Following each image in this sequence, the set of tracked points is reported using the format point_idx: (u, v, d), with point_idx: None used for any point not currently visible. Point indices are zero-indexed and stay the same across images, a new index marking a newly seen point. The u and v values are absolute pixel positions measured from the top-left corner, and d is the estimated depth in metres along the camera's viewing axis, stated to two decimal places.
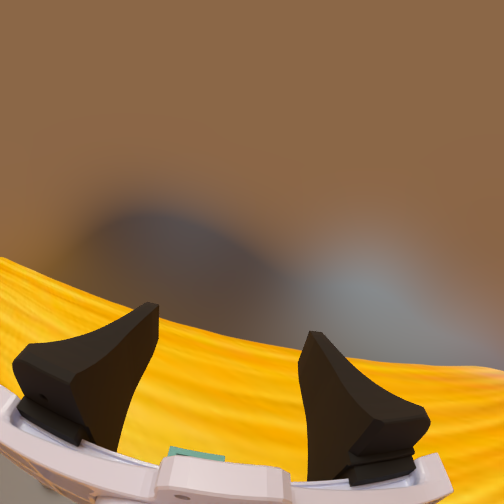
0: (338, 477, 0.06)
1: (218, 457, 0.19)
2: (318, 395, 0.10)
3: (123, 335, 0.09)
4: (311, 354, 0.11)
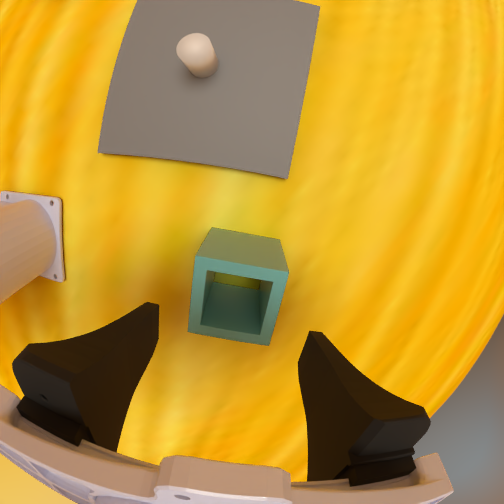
0: (338, 477, 0.06)
1: (266, 338, 0.16)
2: (318, 395, 0.10)
3: (123, 335, 0.09)
4: (311, 354, 0.11)
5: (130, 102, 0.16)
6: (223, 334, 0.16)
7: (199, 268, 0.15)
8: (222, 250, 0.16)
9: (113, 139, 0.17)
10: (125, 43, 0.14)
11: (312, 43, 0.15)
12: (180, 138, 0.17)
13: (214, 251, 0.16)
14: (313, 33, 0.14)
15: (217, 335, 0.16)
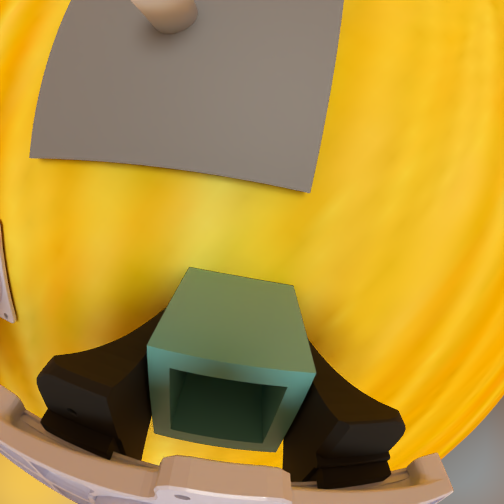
0: (308, 479, 0.06)
1: (271, 445, 0.09)
2: None
3: None
4: None
5: (68, 81, 0.09)
6: (207, 441, 0.09)
7: (157, 364, 0.08)
8: (198, 326, 0.09)
9: (46, 137, 0.10)
10: (72, 5, 0.07)
11: None
12: (135, 128, 0.10)
13: (183, 330, 0.08)
14: None
15: (198, 441, 0.09)
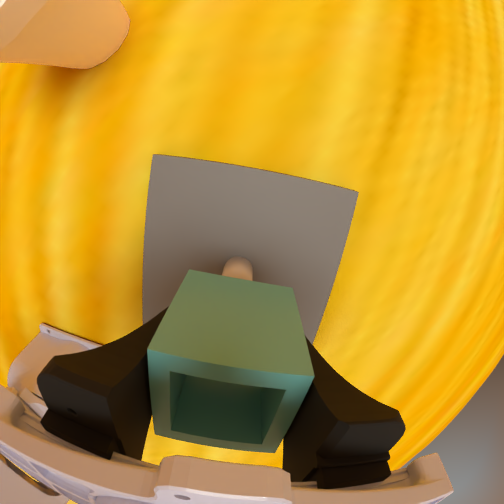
0: (308, 479, 0.06)
1: (270, 446, 0.09)
2: None
3: None
4: None
5: (168, 295, 0.20)
6: (207, 442, 0.09)
7: (157, 367, 0.08)
8: (198, 329, 0.09)
9: None
10: (149, 228, 0.18)
11: (344, 244, 0.19)
12: None
13: (183, 333, 0.08)
14: (346, 231, 0.18)
15: (198, 442, 0.09)
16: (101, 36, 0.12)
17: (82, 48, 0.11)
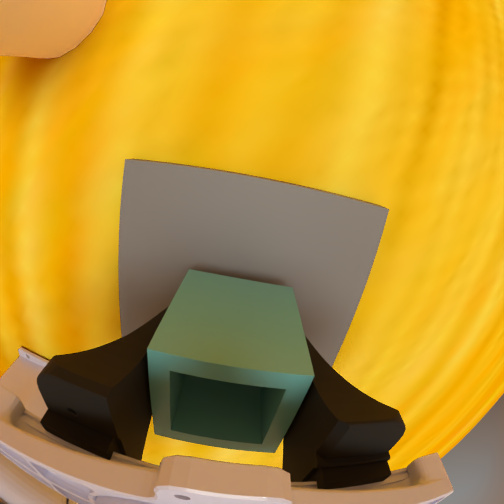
0: (308, 479, 0.06)
1: (270, 446, 0.09)
2: None
3: None
4: None
5: None
6: (207, 442, 0.09)
7: (157, 367, 0.08)
8: (197, 329, 0.09)
9: None
10: (124, 253, 0.14)
11: (367, 273, 0.15)
12: None
13: (183, 333, 0.08)
14: (372, 258, 0.14)
15: (198, 441, 0.09)
16: (66, 16, 0.07)
17: (43, 31, 0.07)
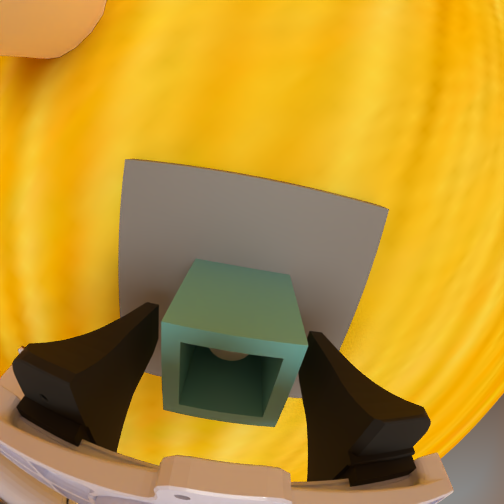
0: (338, 477, 0.06)
1: (271, 419, 0.10)
2: (318, 395, 0.10)
3: (123, 335, 0.09)
4: (311, 354, 0.11)
5: None
6: (212, 416, 0.10)
7: (170, 339, 0.09)
8: (205, 306, 0.10)
9: None
10: (124, 253, 0.14)
11: (367, 273, 0.15)
12: None
13: (192, 309, 0.10)
14: (372, 258, 0.14)
15: (203, 416, 0.10)
16: (66, 16, 0.07)
17: (43, 31, 0.07)
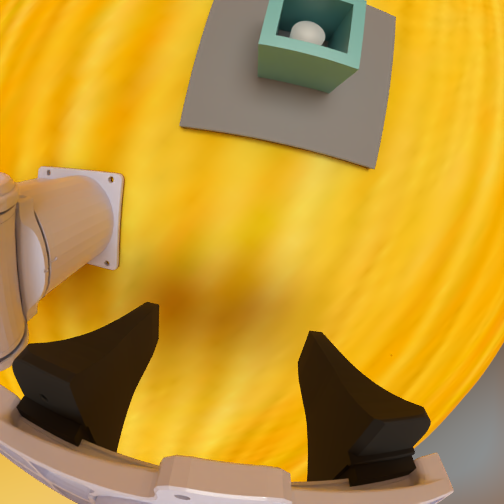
0: (338, 477, 0.06)
1: (354, 58, 0.10)
2: (318, 395, 0.10)
3: (123, 335, 0.09)
4: (311, 354, 0.11)
5: (221, 77, 0.16)
6: (304, 48, 0.10)
7: None
8: None
9: (200, 113, 0.17)
10: (212, 18, 0.14)
11: (392, 49, 0.15)
12: (277, 120, 0.17)
13: None
14: (392, 40, 0.14)
15: (296, 48, 0.10)
16: None
17: None
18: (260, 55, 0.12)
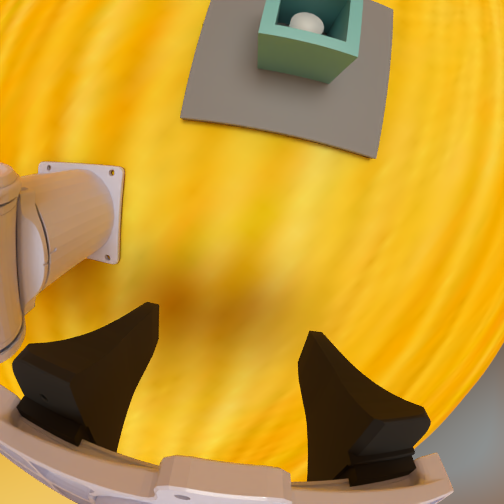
0: (338, 477, 0.06)
1: (353, 46, 0.10)
2: (318, 395, 0.10)
3: (123, 335, 0.09)
4: (311, 354, 0.11)
5: (221, 69, 0.16)
6: (304, 36, 0.10)
7: None
8: None
9: (200, 104, 0.17)
10: (211, 12, 0.14)
11: (390, 41, 0.14)
12: (278, 110, 0.17)
13: None
14: (390, 32, 0.14)
15: (296, 37, 0.10)
16: None
17: None
18: (260, 45, 0.12)
